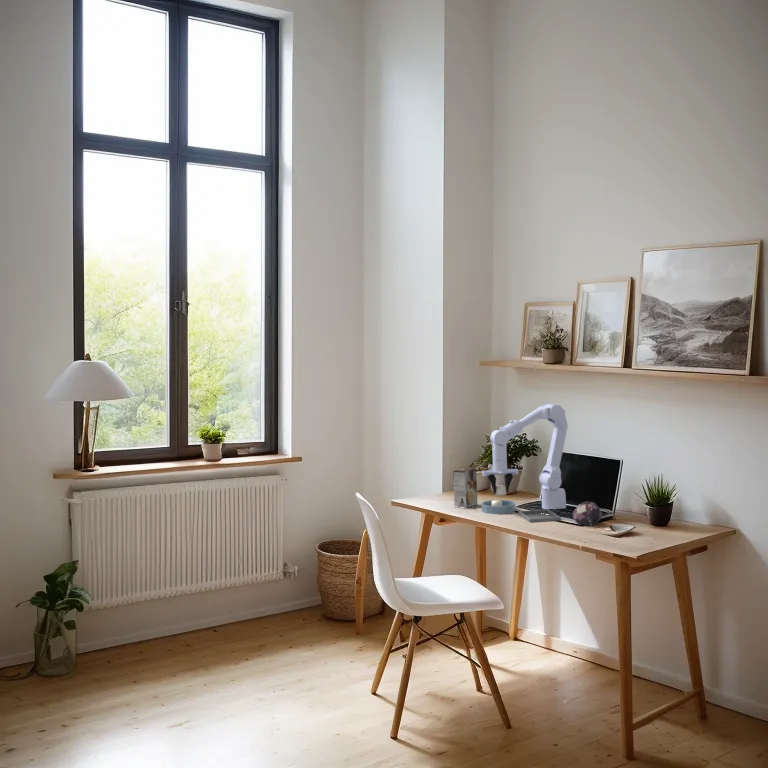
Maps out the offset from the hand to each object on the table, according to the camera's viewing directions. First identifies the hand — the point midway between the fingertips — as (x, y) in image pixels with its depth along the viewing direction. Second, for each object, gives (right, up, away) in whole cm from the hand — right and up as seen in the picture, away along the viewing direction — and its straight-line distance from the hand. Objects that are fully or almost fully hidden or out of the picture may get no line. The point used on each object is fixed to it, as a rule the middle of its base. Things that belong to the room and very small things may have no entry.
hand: (500, 492), depth 355 cm
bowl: (0, -9, +4) cm, 9 cm away
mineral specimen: (+30, -10, -26) cm, 40 cm away
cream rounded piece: (0, -1, 0) cm, 1 cm away
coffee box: (-12, -9, +19) cm, 24 cm away
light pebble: (-1, -8, +6) cm, 10 cm away
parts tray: (+14, -9, -12) cm, 20 cm away
